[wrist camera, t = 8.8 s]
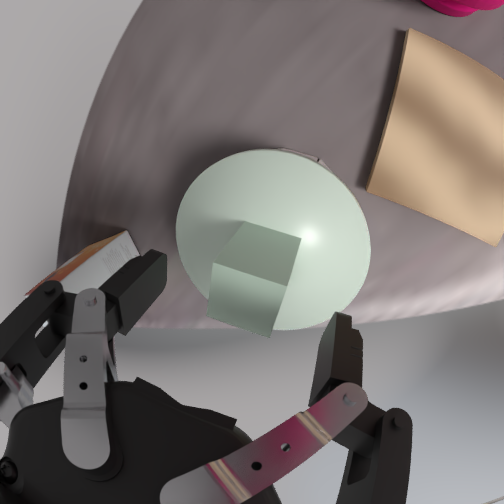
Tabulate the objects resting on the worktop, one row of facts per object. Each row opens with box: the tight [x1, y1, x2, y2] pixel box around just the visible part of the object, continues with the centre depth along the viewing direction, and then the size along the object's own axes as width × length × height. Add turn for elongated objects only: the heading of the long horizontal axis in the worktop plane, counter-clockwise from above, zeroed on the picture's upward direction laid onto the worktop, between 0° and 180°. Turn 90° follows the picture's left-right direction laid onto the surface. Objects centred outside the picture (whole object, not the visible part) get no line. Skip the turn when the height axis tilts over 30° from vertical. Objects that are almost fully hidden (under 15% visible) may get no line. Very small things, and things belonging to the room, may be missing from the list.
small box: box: [25, 230, 140, 328], centre depth 24 cm, size 8×6×10 cm
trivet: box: [365, 28, 504, 247], centre depth 14 cm, size 12×12×1 cm
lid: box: [176, 149, 371, 338], centre depth 15 cm, size 12×12×5 cm
